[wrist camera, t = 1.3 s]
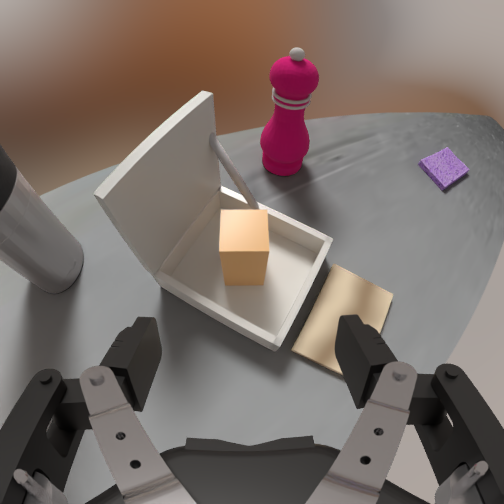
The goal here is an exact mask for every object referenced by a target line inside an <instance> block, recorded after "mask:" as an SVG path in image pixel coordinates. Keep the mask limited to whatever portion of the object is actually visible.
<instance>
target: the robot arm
mask: <svg viewBox="0 0 504 504" xmlns="http://www.w3.org/2000/svg"><path fill="white" fill-rule="evenodd" d="M0 260H1V261H2V262H4V263H5V264H6V265H8V266H9V267H11V268H12V269H13V270H15V271H16V272H17V273H19V274H20V275H22V276H23V277H25V278H26V279H28V280H29V281H30V282H32V283H33V284H35V285H36V286H38V287H39V288H41V289H43V290H44V291H46V292H48V293H52V294H54V293H60V292H62V291H64V290H66V289H67V288H68V287H70V286H71V285H72V284H73V282H74V281H75V280H76V278H77V277H78V275H79V273H80V270H81V268H82V263H83V250H82V247H81V245H80V243H79V242H78V241H77V240H76V239H75V237H74V236H73V235H72V234H71V233H70V232H69V231H68V230H67V229H66V227H65V226H64V225H63V224H62V223H61V222H60V221H59V219H58V218H57V217H56V216H55V215H54V214H53V213H52V211H51V210H50V209H49V208H48V207H47V205H46V204H45V203H44V202H43V201H42V199H41V198H40V197H39V196H38V195H37V193H36V192H35V191H34V190H33V188H32V187H31V186H30V184H29V183H28V182H27V181H26V180H25V178H24V177H23V176H22V174H21V173H20V172H19V170H18V169H17V168H16V166H15V165H14V163H13V162H12V161H11V159H10V158H9V156H8V155H7V154H6V152H5V151H4V149H3V148H2V146H1V145H0ZM161 355H162V348H161V342H160V337H159V332H158V327H157V322H156V319H155V318H154V317H137V319H136V321H135V322H134V324H133V326H132V327H127V328H125V329H124V330H123V331H121V332H120V333H119V334H118V336H117V337H116V339H115V342H113V344H112V345H111V347H110V348H109V350H108V352H107V353H106V355H105V357H104V358H103V360H102V362H101V363H100V365H99V366H94V367H91V368H88V369H87V370H85V371H84V372H83V373H82V374H81V376H80V378H79V379H63V378H62V376H61V374H60V372H59V371H57V370H55V369H45V370H42V371H40V372H38V373H37V374H36V375H35V376H34V377H33V378H32V380H31V381H30V383H29V384H28V386H27V387H26V389H25V390H24V392H23V394H22V395H21V397H20V398H19V400H18V401H17V403H16V405H15V406H14V408H13V409H12V411H11V413H10V414H9V416H8V418H7V419H6V421H5V423H4V424H3V426H2V428H1V430H0V504H68V501H67V499H66V497H65V495H64V494H63V491H64V488H65V484H66V481H67V478H68V475H69V472H70V469H71V466H72V464H73V461H74V458H75V455H76V452H77V450H78V447H79V444H80V441H81V439H82V436H83V434H84V431H85V430H86V429H93V431H94V434H95V436H96V439H97V441H98V444H99V446H100V449H101V451H102V454H103V456H104V458H105V461H106V463H107V465H108V467H109V469H110V471H111V474H112V476H113V478H114V480H115V482H116V484H115V485H114V486H112V487H111V488H109V489H107V490H106V491H104V492H103V493H101V494H100V495H98V496H96V497H95V498H93V499H92V500H90V501H88V502H87V503H85V504H430V503H428V502H426V501H424V500H422V499H420V498H418V497H416V496H415V495H413V494H411V493H409V492H407V491H405V490H404V489H402V488H400V487H398V486H397V485H395V484H393V483H391V482H390V481H388V480H386V477H387V474H388V472H389V470H390V466H391V465H392V462H393V460H394V457H395V455H396V452H397V449H398V447H399V443H400V441H401V438H402V435H403V432H404V429H405V426H406V425H414V426H415V429H416V431H417V433H418V435H419V438H420V440H421V442H422V444H423V446H424V449H425V452H426V454H427V456H428V459H429V461H430V464H431V466H432V469H433V471H434V473H435V476H436V479H437V481H438V484H439V487H438V489H437V491H436V493H435V504H504V429H503V427H502V426H501V424H500V423H499V421H498V420H497V418H496V416H495V415H494V414H493V412H492V410H491V409H490V407H489V406H488V405H487V403H486V402H485V400H484V399H483V397H482V396H481V395H480V393H479V392H478V390H477V389H476V387H475V386H474V385H473V383H472V382H471V381H470V379H469V378H468V377H467V375H466V374H465V372H464V371H463V370H462V369H461V368H460V367H458V366H456V365H453V364H442V365H440V366H438V367H437V369H436V371H435V373H434V374H417V372H416V370H415V369H414V368H413V367H412V366H411V365H409V364H407V363H404V362H398V360H397V359H396V357H395V356H394V354H393V353H392V351H391V350H390V348H389V347H388V346H387V344H385V341H384V340H383V338H381V335H380V334H379V332H378V331H377V330H376V329H375V328H373V327H372V326H370V325H369V324H364V323H363V322H362V320H361V319H360V317H359V316H358V315H357V314H353V315H341V316H340V318H339V322H338V328H337V334H336V340H335V356H336V359H337V361H338V364H339V366H340V369H341V371H342V373H343V376H344V378H345V381H346V383H347V386H348V388H349V391H350V393H351V396H352V398H353V401H354V403H355V406H356V408H357V409H360V408H364V409H363V411H362V413H361V415H360V417H359V419H358V421H357V423H356V425H355V427H354V429H353V430H352V432H351V434H350V436H349V438H348V440H347V441H346V443H345V445H344V447H343V448H342V450H341V451H340V450H338V449H335V448H333V447H329V446H326V445H320V444H314V440H313V436H304V437H293V438H281V439H278V440H274V441H270V442H266V443H262V444H258V445H253V446H246V445H241V444H236V443H231V442H226V441H222V440H218V439H198V438H187V439H186V445H185V446H181V447H176V448H173V449H169V450H167V451H164V452H162V453H160V454H159V453H158V451H157V450H156V448H155V447H154V445H153V443H152V442H151V440H150V438H149V437H148V435H147V433H146V432H145V430H144V428H143V427H142V425H141V423H140V421H139V420H138V418H137V416H136V414H135V413H134V411H140V412H142V411H143V408H144V405H145V402H146V399H147V397H148V394H149V391H150V388H151V385H152V382H153V379H154V377H155V374H156V371H157V368H158V366H159V363H160V360H161ZM447 413H448V415H449V416H450V418H451V420H452V422H453V427H452V425H451V423H450V421H449V419H448V418H447V416H446V415H447ZM51 418H52V419H53V421H52V423H51V425H50V427H49V429H48V431H47V433H46V429H47V426H48V424H49V422H50V420H51Z"/></svg>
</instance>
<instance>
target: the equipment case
mask: <svg viewBox="0 0 504 504" xmlns="http://www.w3.org/2000/svg"><path fill="white" fill-rule="evenodd" d="M218 158H219V160H220V161H221V163H222V164H223V166H224V168H225V169H226V171H227V172H228V174H229V175H230V177H231V178H232V180H233V181H234V183H235V184H236V186H237V188H238V189H239V191H240V192H241V194H242V195H240V194H238V193H236V192H234V191H231V190H229V189H227V188H225V187H222V186H221V182H220V171H219V161H218ZM93 194H94V196H95V197H96V199H97V200H98V202H99V204H100V205H101V207H102V208H103V210H104V211H105V213H106V214H107V216H108V217H109V219H110V220H111V222H112V223H113V225H114V226H115V228H116V229H117V230H118V232H119V233H120V235H121V236H122V238H123V239H124V240H125V242H126V243H127V245H128V246H129V247H130V249H131V250H132V252H133V253H134V254H135V256H136V257H137V258H138V260H139V261H140V263H141V264H142V265H143V267H144V268H145V269H146V270H147V271H148V272H150V273H151V274H152V276H153V277H154V278H155V280H156V281H157V282H158V284H159V285H160V286H161V287H162V288H164V289H166V290H167V291H169V292H170V293H172V294H174V295H175V296H177V297H178V298H180V299H182V300H183V301H185V302H187V303H188V304H190V305H192V306H193V307H195V308H197V309H198V310H200V311H202V312H203V313H205V314H207V315H209V316H210V317H212V318H214V319H215V320H217V321H219V322H221V323H222V324H224V325H226V326H228V327H230V328H231V329H233V330H235V331H237V332H239V333H240V334H242V335H244V336H246V337H248V338H250V339H251V340H253V341H255V342H257V343H259V344H261V345H263V346H265V347H266V348H268V349H270V350H272V351H274V352H276V351H277V350H278V348H279V347H280V346H281V344H282V342H283V340H284V338H285V336H286V335H287V333H288V331H289V329H290V327H291V325H292V323H293V321H294V319H295V317H296V315H297V313H298V312H299V310H300V308H301V306H302V304H303V302H304V300H305V298H306V296H307V294H308V292H309V290H310V288H311V286H312V283H313V281H314V279H315V277H316V275H317V273H318V271H319V269H320V267H321V265H322V263H323V260H324V258H325V256H326V254H327V252H328V250H329V248H330V245H331V243H332V241H333V238H331V237H329V236H327V235H325V234H323V233H321V232H319V231H317V230H315V229H313V228H311V227H309V226H307V225H305V224H303V223H300V222H298V221H296V220H294V219H292V218H290V217H288V216H286V215H284V214H282V213H279V212H277V211H275V210H273V209H271V208H269V207H267V206H264V205H262V204H260V203H258V202H256V200H255V198H254V197H253V195H252V193H251V192H250V190H249V189H248V187H247V185H246V184H245V182H244V181H243V179H242V177H241V176H240V174H239V172H238V171H237V169H236V168H235V166H234V164H233V163H232V161H231V160H230V158H229V157H228V155H227V153H226V152H225V150H224V149H223V147H222V145H221V144H220V142H219V141H218V139H217V138H216V127H215V114H214V103H213V93H209V92H206V91H201V92H200V93H199V94H197V95H196V96H195V97H194V98H192V99H191V100H190V101H189V102H187V103H186V104H185V105H184V106H183V107H181V108H180V109H179V110H178V111H177V112H175V113H174V114H173V115H172V116H171V117H170V118H168V119H167V120H166V121H165V122H164V123H163V124H161V125H160V126H159V127H158V128H157V129H156V130H155V131H154V132H153V133H152V134H150V135H149V136H148V137H147V138H146V139H145V140H144V141H143V142H142V143H141V144H140V145H139V146H138V147H137V148H136V149H135V150H134V151H133V152H132V153H131V154H130V155H129V156H128V157H127V158H126V159H125V160H124V161H123V162H122V163H121V164H120V165H119V166H118V167H117V168H116V169H115V170H114V171H113V172H112V173H111V174H110V175H109V176H108V177H107V178H106V179H105V181H104V182H103V183H102V184H101V185H100V186H99V187H98V188H97V189H96V191H95V192H94V193H93ZM221 210H267V213H268V231H269V250H270V251H269V257H268V263H267V268H266V274H265V279H264V285H246V286H225V282H224V277H223V271H222V265H221V260H220V254H219V240H220V217H221Z"/></svg>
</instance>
